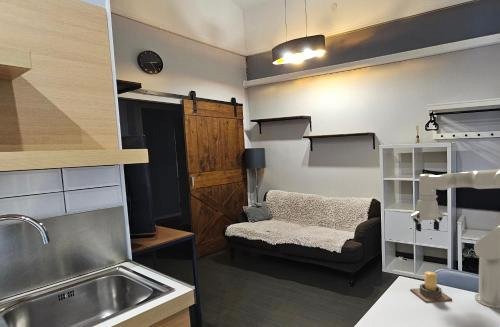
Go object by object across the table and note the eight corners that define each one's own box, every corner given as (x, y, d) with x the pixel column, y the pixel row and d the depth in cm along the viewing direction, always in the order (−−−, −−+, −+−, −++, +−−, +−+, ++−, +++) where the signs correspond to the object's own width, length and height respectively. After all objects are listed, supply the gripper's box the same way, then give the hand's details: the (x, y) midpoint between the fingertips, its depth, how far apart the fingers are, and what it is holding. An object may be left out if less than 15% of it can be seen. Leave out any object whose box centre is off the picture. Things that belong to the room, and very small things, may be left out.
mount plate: (434, 288, 157) (434, 281, 157) (452, 300, 145) (452, 292, 145) (410, 290, 156) (410, 283, 156) (425, 302, 144) (425, 294, 144)
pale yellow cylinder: (432, 290, 153) (432, 271, 152) (439, 295, 148) (439, 275, 147) (422, 291, 153) (422, 271, 152) (429, 296, 148) (429, 276, 147)
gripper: (438, 195, 165) (438, 227, 166) (407, 197, 164) (407, 229, 165) (448, 198, 158) (448, 231, 159) (415, 199, 156) (416, 233, 157)
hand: (427, 230), depth 162 cm, fingers open, 9 cm apart
